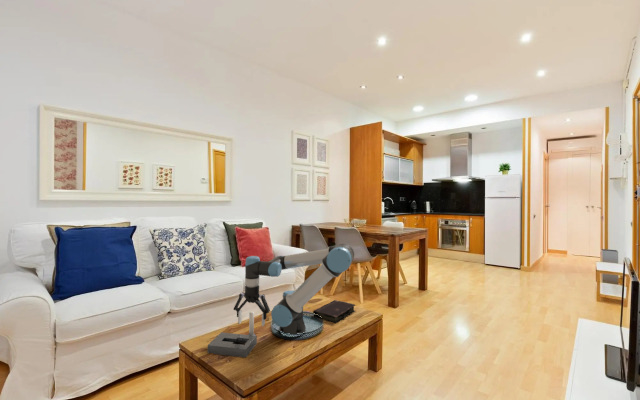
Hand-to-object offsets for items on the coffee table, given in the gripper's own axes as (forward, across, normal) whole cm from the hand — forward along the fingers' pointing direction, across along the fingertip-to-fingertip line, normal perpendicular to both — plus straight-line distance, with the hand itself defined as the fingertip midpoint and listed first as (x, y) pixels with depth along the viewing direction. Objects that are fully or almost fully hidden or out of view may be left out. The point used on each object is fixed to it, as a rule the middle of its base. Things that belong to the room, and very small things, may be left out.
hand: (251, 324), depth 166 cm
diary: (+8, -41, -43) cm, 60 cm away
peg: (+8, 0, 0) cm, 8 cm away
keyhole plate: (+8, +5, +12) cm, 15 cm away
